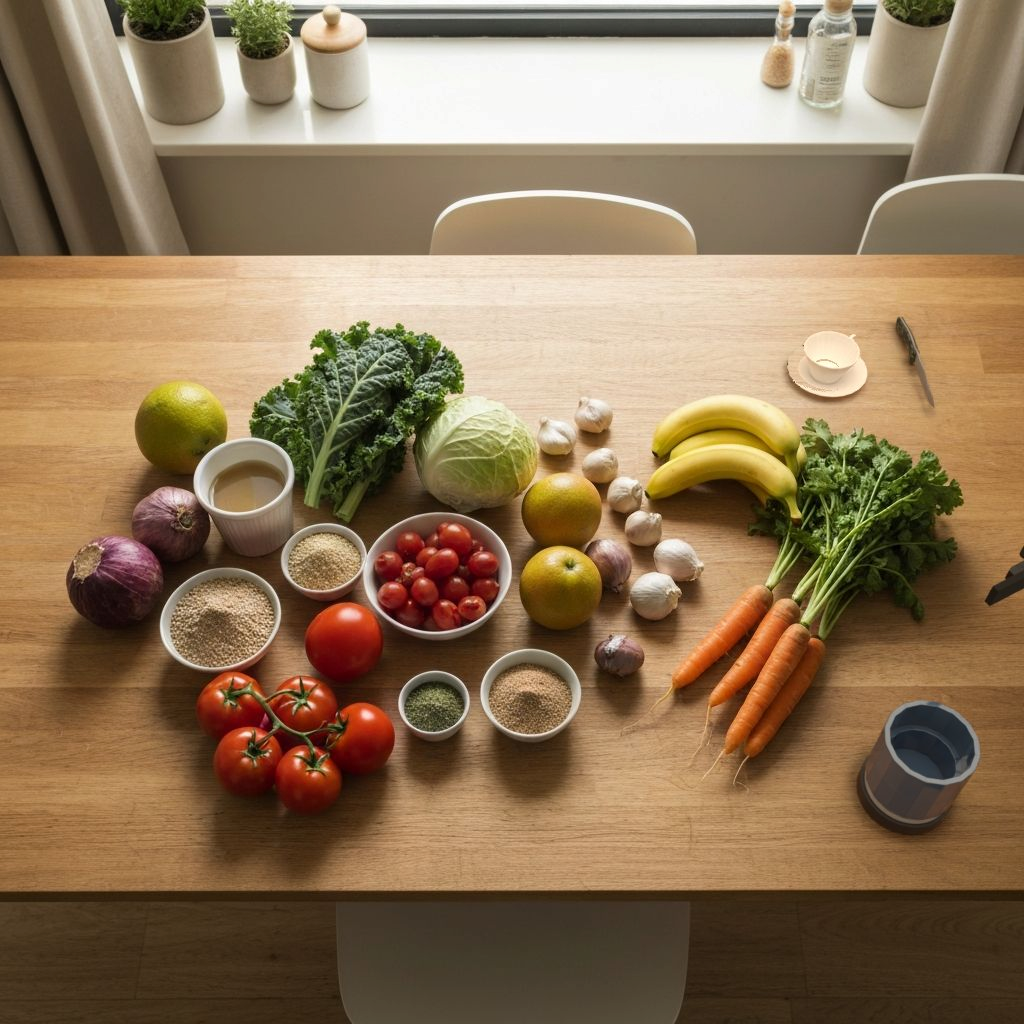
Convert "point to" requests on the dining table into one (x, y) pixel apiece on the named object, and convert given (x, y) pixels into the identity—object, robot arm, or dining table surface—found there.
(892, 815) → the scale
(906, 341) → the knife
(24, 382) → the dining table surface
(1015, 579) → the robot arm
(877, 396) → the dining table surface
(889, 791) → the cup
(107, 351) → the dining table surface
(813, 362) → the teacup
